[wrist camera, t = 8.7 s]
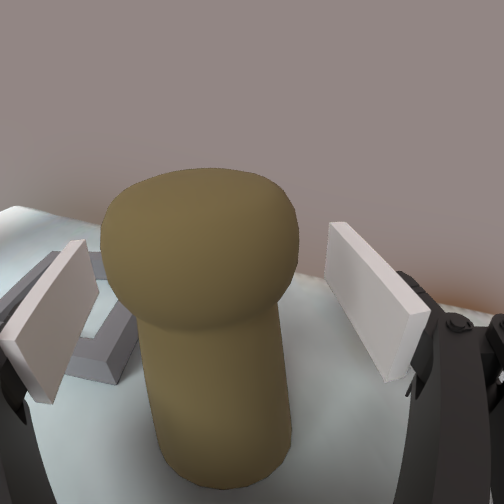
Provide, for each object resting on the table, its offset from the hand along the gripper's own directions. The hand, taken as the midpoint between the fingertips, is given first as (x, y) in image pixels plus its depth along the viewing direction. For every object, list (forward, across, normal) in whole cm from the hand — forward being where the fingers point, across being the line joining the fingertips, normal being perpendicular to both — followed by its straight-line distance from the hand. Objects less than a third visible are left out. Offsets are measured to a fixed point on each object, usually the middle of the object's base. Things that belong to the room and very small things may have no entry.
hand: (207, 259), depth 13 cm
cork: (-4, 0, -7) cm, 8 cm away
